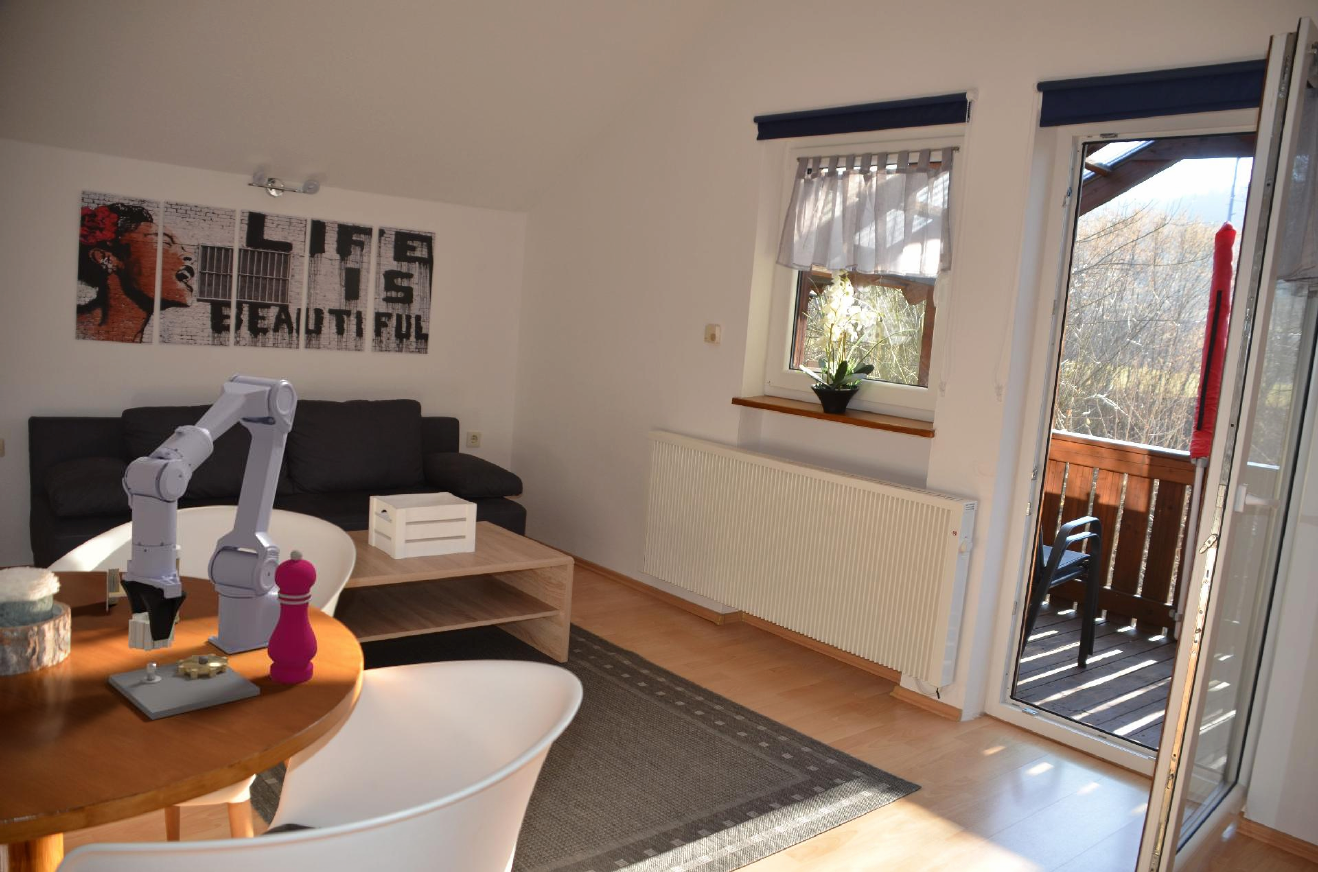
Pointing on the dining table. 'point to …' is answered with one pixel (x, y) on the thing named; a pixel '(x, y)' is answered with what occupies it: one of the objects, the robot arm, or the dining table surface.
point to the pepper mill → (293, 622)
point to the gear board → (183, 685)
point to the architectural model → (114, 586)
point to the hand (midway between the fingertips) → (152, 632)
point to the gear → (145, 634)
